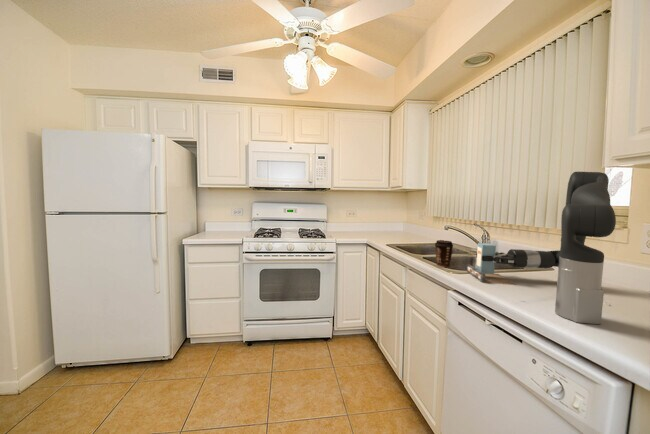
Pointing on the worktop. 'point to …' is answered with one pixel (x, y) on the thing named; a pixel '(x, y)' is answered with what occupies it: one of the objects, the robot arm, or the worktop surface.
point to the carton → (485, 250)
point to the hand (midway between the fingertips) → (479, 256)
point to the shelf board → (488, 276)
